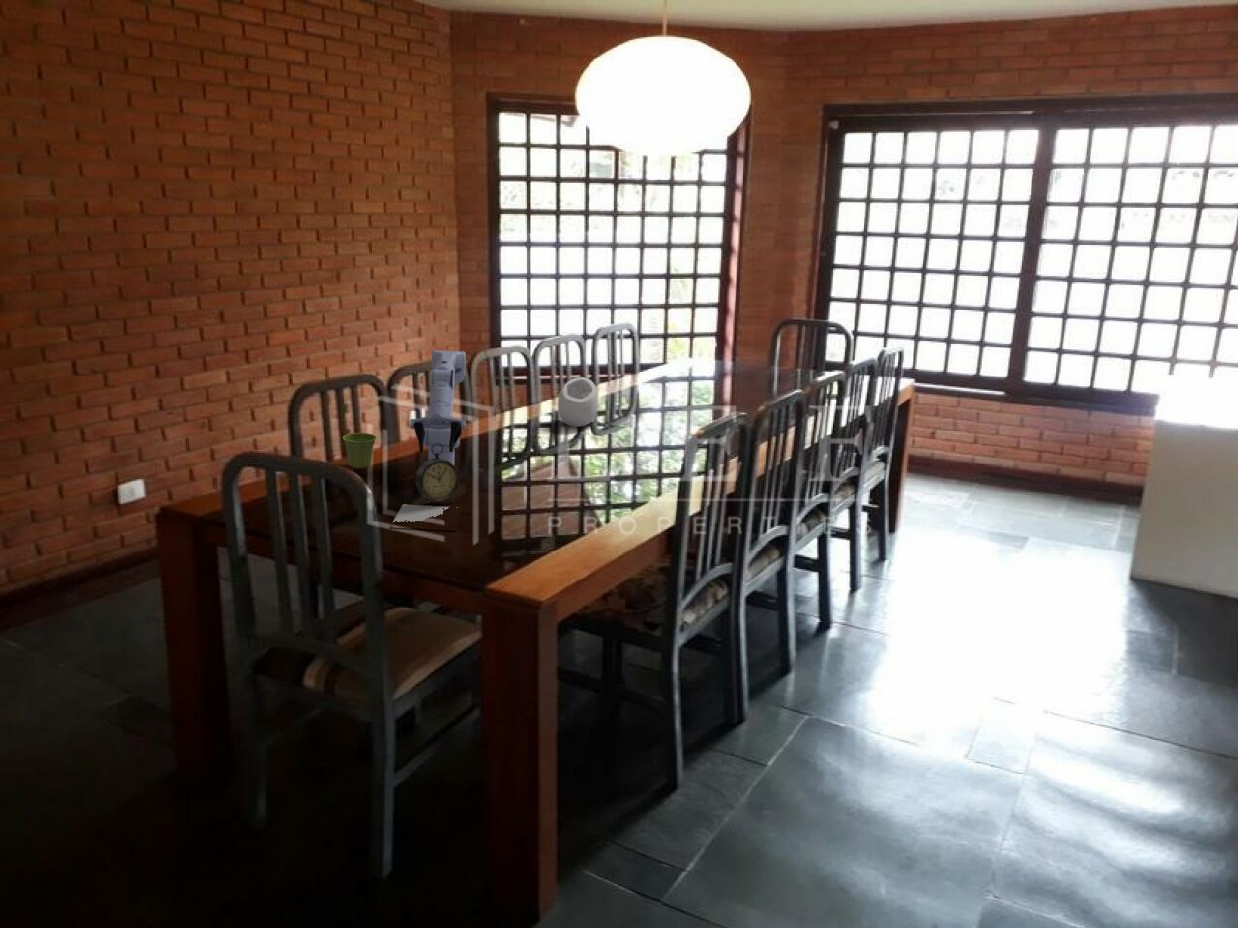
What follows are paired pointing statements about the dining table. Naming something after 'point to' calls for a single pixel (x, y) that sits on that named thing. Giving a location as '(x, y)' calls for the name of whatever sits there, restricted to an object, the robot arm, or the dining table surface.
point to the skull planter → (578, 402)
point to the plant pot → (359, 449)
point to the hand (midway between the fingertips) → (435, 450)
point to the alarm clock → (437, 479)
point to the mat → (418, 512)
